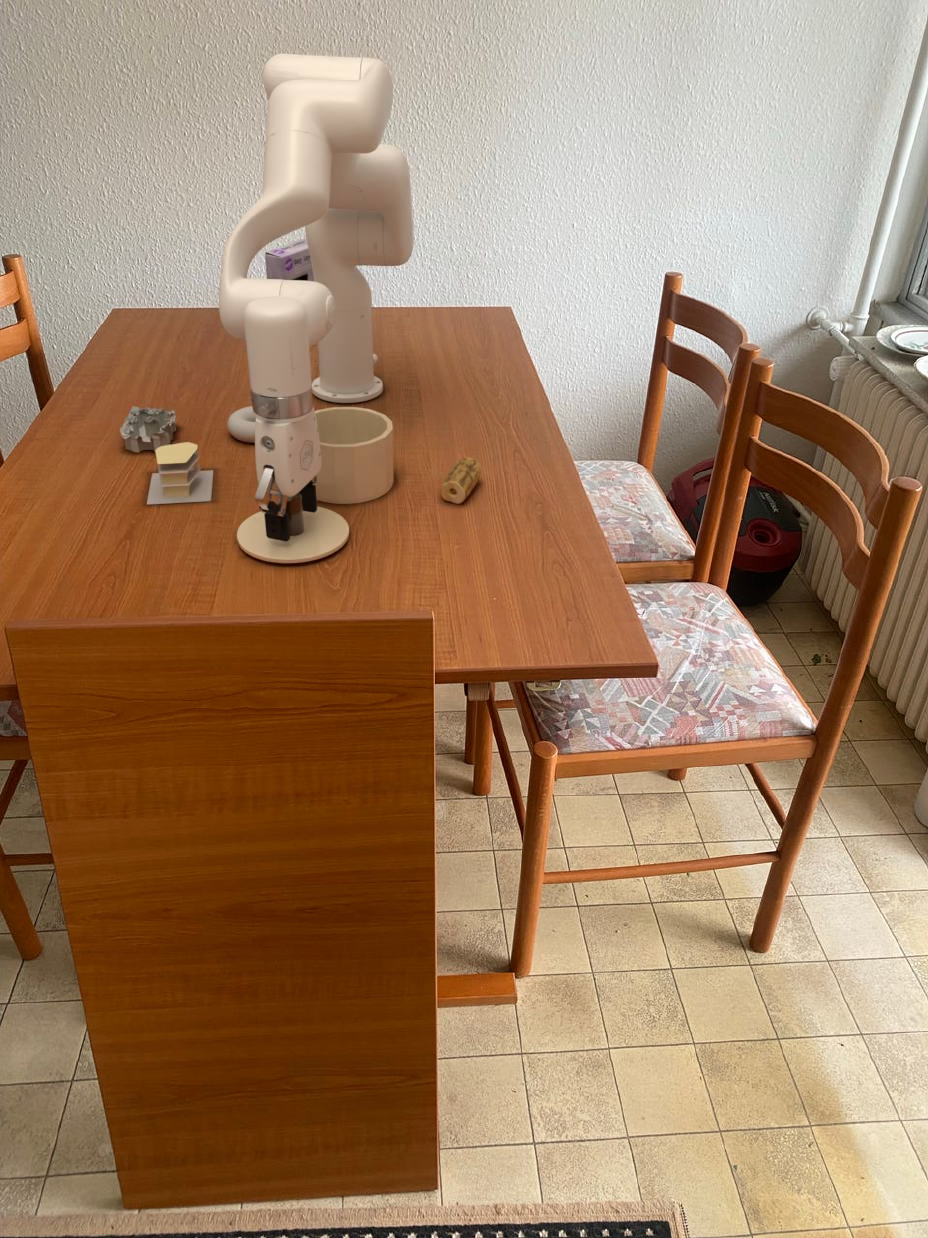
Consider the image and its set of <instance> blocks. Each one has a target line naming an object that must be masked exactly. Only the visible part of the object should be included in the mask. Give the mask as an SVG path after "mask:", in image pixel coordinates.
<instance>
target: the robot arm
mask: <svg viewBox="0 0 928 1238" xmlns="http://www.w3.org/2000/svg"><path fill="white" fill-rule="evenodd" d="M262 80H263V86H264V90H265V93H266V97H267V98H268V103H267V112H266V113H267V115H266V117H267V118H266V129H265V142H264V143H265V145H264V159H263V174H262V175H263V176H262V191H261V196H260V197H259V199H258V200H257V201H256V202H255V203H254V204H253V205H252V206H251V207H250V208H249V209H248V210H247V211H246V212H245V213H244V214H243V215H242V217H241V218H240V219H239V221H238V222H237V223H236V225H235V226H234V227H233V229H232V231H231V232H230V234H229V237H228V238H227V240H226V242H225V246H224V248H223V251H222V257H221V264H220V277H219V289H218V290H219V292H218V314H219V319H220V323H221V325H222V328H223V330H224V331H225V333H227V334H228V335H229V336H231V337H232V338H234V339H237V340H240V341H241V340H243V341H245V345H246V346H245V347H246V357H247V365H248V375H249V386H250V395H251V396H250V397H251V406H252V407H253V414H254V416H255V417H256V422H255V443H254V453H255V455H254V456H255V457H254V458H255V469H256V479H257V485H258V486H257V489H256V491H255V494H254V501H255V502H256V503H257V504H256V505H258V508H259V509H260V511H262V513H264V516H265V527H266V536H267V537H268V538H270V539H275V540H281V541H286V542H287V541H289V539H290V529H289V517H288V513H285V509H286V503H287V497H293V496H294V495H296V494H297V493H300V494H301V495H302V504H303V511H307V512H312V513H315V512H316V511H317V506H318V500H317V498H316V485H313V484H315V483H316V481H317V476H316V474H317V473H318V472H319V471H320V469H321V466H322V460H321V448H320V439H319V432H318V425H317V419H316V414H315V411H316V410H315V406H314V396H315V397H317V398H318V399H320V400H323V401H325V402H331V403H337V404H356V403H363V402H367V401H370V400H373V399H375V398H377V397H379V396H380V395H381V394H382V393H383V390H384V385H383V381H382V380H381V378H379V377H377V376H376V375H375V369H374V366H375V364H377V363H378V361H379V357H378V355H377V354H376V353H374V336H373V335H374V333H373V332H374V331H373V299H372V298H373V296H372V290H371V287H370V284H369V283H368V280H367V279H366V277H365V276H364V274H363V273H362V272H361V270H360V269H359V268H358V266H359V267H361V266H362V267H363V266H368V267H369V266H371V267H398V266H402V265H405V264H407V262H408V261H409V260H410V258H411V257H412V254H413V249H414V239H415V237H414V218H413V215H414V214H413V201H412V187H411V185H412V184H411V175H410V173H411V172H410V166H409V162H408V159H407V157H406V155H405V153H404V152H403V151H402V149H400V148H399V147H398V146H395V145H392V144H385V143H381V142H382V140H383V137H384V135H385V131H386V127H387V124H388V123H389V120H390V116H391V114H392V113H391V112H392V108H393V103H394V85H393V79H392V74H391V72H390V70H389V68H388V66H387V65H386V63H385V62H383V61H382V60H381V59H378V58H375V57H374V58H372V57H364V56H359V57H358V56H335V55H320V54H319V55H317V54H313V55H312V54H294V53H283V52H282V53H278V54H275V55H273V56H271V57H270V58H269V59H268V60H267V61H266V63H265V65H264V67H263V73H262ZM301 228H304V229H305V231H304V232H305V238H306V239H307V244H308V249H309V253H310V258H311V263H312V270H313V278H314V281H302V280H281V279H267V278H260V277H259V278H258V277H257V278H256V277H255V278H254V277H248V271H249V268H250V265H251V264H252V262H253V259H254V258H255V257H256V255H257V254H258V253H259V252H260V251H262V249H264V247H266V246H267V245H269V244H270V243H272V242H274V241H275V240H277V239H279V238H281V237H283V236H286V235H288V234H290V233H292V232H295V231H297V230H299V229H301ZM316 344H317V353H318V370H319V371H318V373H319V376H318V377H317V378H315V379H314V380H313V379H312V365H311V355H310V348H311V347H313V346H315V345H316ZM312 380H313V381H312ZM313 395H314V396H313ZM273 486H277V488H278V489H273ZM273 495H274V496H280V499H279V498H278V504H277V503H276V502H275V501H274V500H272V496H273Z"/></svg>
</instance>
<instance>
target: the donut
mask: <svg viewBox="0 0 928 1238" xmlns="http://www.w3.org/2000/svg"><path fill="white" fill-rule="evenodd" d="M255 422H256V417H255V416H254V414H253V407H252V405H250V406H246V407H242V408H240V409H236V410H235V411H234V412H233V413H232V414H230V416H229V418H228V419H227V422H226V427H227V430H228V433H229V434H230V435H231V436H232V437H233V438H235V439H236V440H237V441H241V442H244V443H250V444H255Z"/></svg>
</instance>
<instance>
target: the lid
mask: <svg viewBox="0 0 928 1238" xmlns="http://www.w3.org/2000/svg"><path fill="white" fill-rule="evenodd" d="M279 499H280V495H278V500H279ZM285 513H288V517H289V529H290V539H289V541H287V542H286V541H281V540H275V539H270V538H268V537H267V536H266V527H265V516H264V513H262V510H260V511H258V512H255V513H254V514H252V515H250V516H249V517H247V518H246V519H245V520H243V521H242V522H241V524H239V526H238V528H237V531H236V541H237V544H238V546H239V547H240V549H241V550H242V551H244V553H246V554H248V555H249V556H251V557H253V558H255V559H258V560H260V561H264V562H269V563H270V562H271V563H275V564H276V563H277V564H299V563H300V564H301V563H306V562H311V561H312V562H313V561H315V560H316V561H317V560H321V559H323V558H326V557H328V556H330V555H332V554H335V552H338V551H339V550H341V548H342V547H343V546H345V544H346V543H347V542H348V540H349V537H350V526H349V523H348V522H347V520H346V519H345V518H344V517H343V516H342V515H341V514H339V513H337V512H336V511H333V510H331V509H328V508H325V507H321V506H318V505H317V511H316V512H315V513H312V512H307V511H303V504H302V495H301V494H300V493H297V494H296V495H294V496H293V497H287V503H286V509H285Z"/></svg>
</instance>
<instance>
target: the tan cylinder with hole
mask: <svg viewBox="0 0 928 1238" xmlns="http://www.w3.org/2000/svg"><path fill="white" fill-rule="evenodd" d="M481 475H482V466H481V464H480V462H478V461H477V460H476V459H474V458H473V457H469V456H465V457H462V458H460V459H458V460H457V461H456V462H455V463H454V465H453V466H452V467H451V469H450V470H449V471H448V474H447V475H446V476H445V478H444V479H443V481H442V482H441V486H440V495H441V497H442V499H443V500H444V501H445V502H451V503H452V504H457V505H460V504H462V503H463V502H464V501H465V500H466V499H467V498H468V497H469V495H470V494H471V492H472V491H473V489H474V488H475V487H476V485H477V483H478V482H479V480H480V478H481Z"/></svg>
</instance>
